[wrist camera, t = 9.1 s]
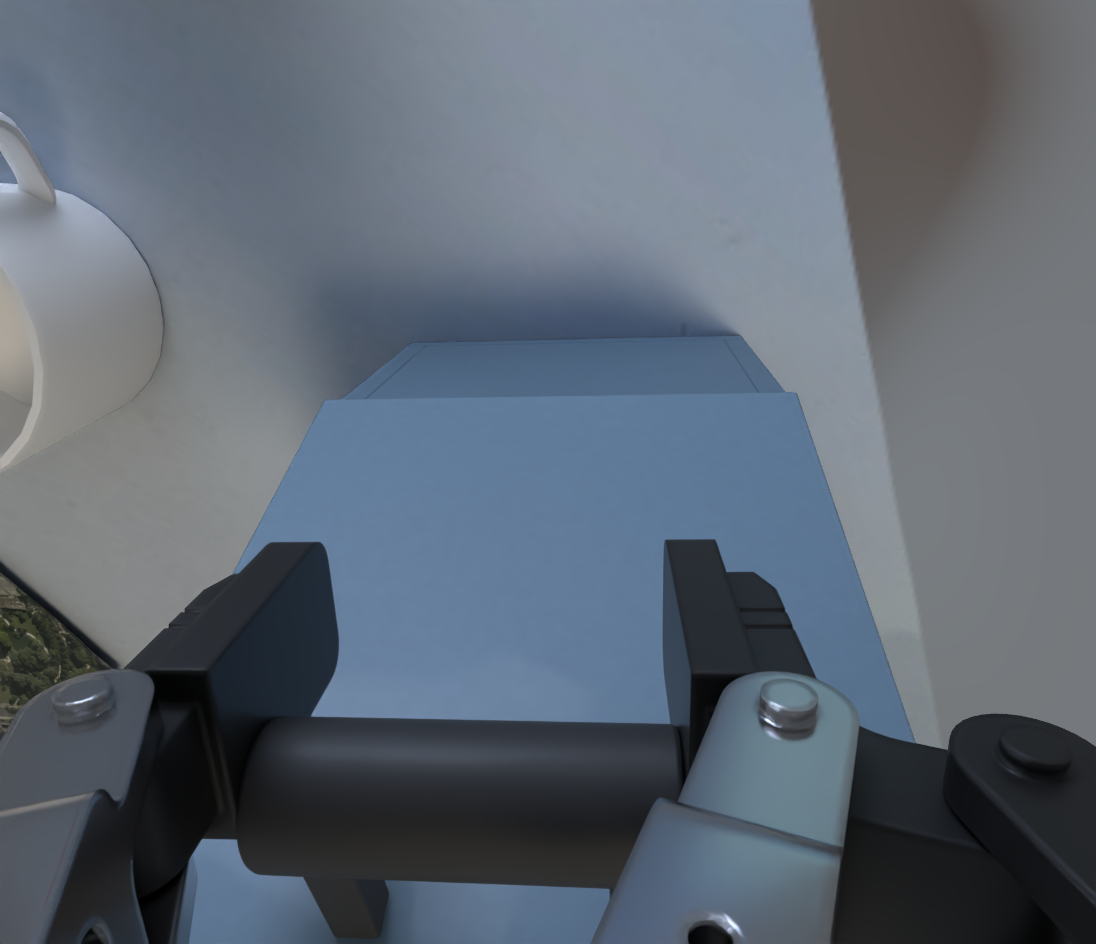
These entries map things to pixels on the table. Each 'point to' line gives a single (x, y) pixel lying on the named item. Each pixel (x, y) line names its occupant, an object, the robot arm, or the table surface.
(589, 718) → the box lid
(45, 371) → the mug
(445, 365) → the blue-grey box
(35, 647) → the eiffel tower figurine
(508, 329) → the table surface
